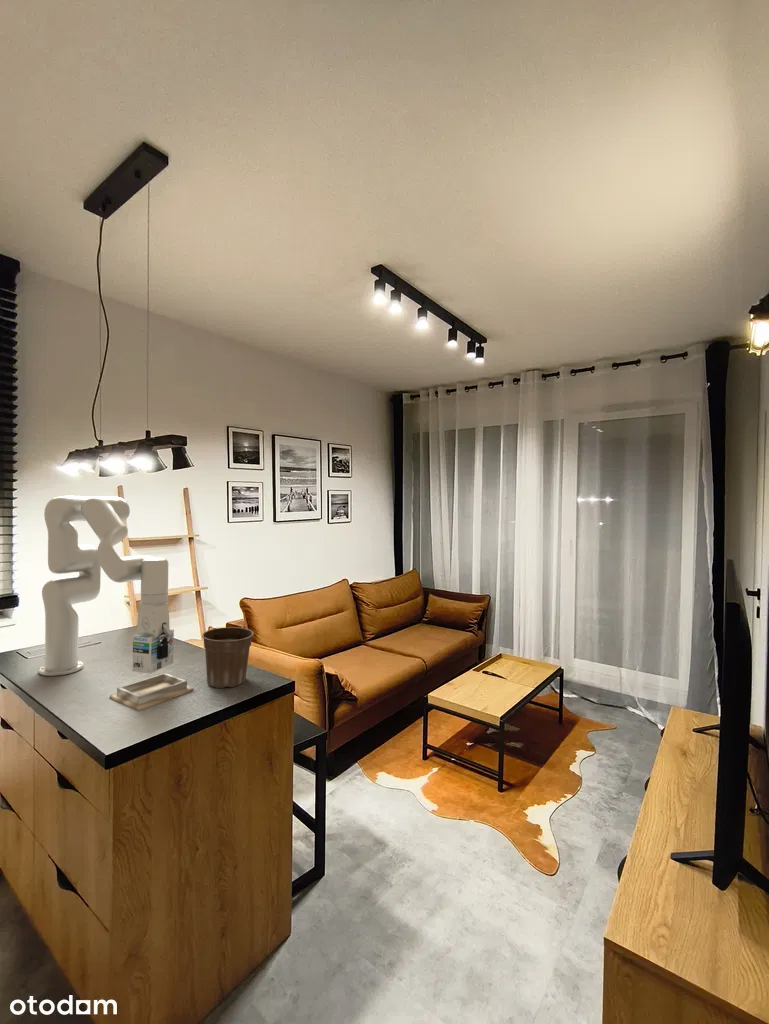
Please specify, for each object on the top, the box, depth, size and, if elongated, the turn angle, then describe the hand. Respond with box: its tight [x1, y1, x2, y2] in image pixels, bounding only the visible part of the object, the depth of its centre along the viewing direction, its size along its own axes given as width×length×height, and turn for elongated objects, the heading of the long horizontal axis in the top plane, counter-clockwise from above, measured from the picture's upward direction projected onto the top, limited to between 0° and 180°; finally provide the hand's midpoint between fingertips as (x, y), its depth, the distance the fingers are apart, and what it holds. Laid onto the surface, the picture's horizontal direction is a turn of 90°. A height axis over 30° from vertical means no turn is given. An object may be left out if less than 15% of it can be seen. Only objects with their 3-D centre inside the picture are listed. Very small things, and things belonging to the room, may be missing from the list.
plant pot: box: [201, 626, 254, 689], centre depth 161 cm, size 16×16×16 cm
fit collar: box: [109, 672, 195, 711], centre depth 149 cm, size 15×18×3 cm
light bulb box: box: [132, 628, 175, 674], centre depth 149 cm, size 11×7×11 cm, turn 167°
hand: (153, 655), depth 149 cm, fingers closed on light bulb box, 8 cm apart
